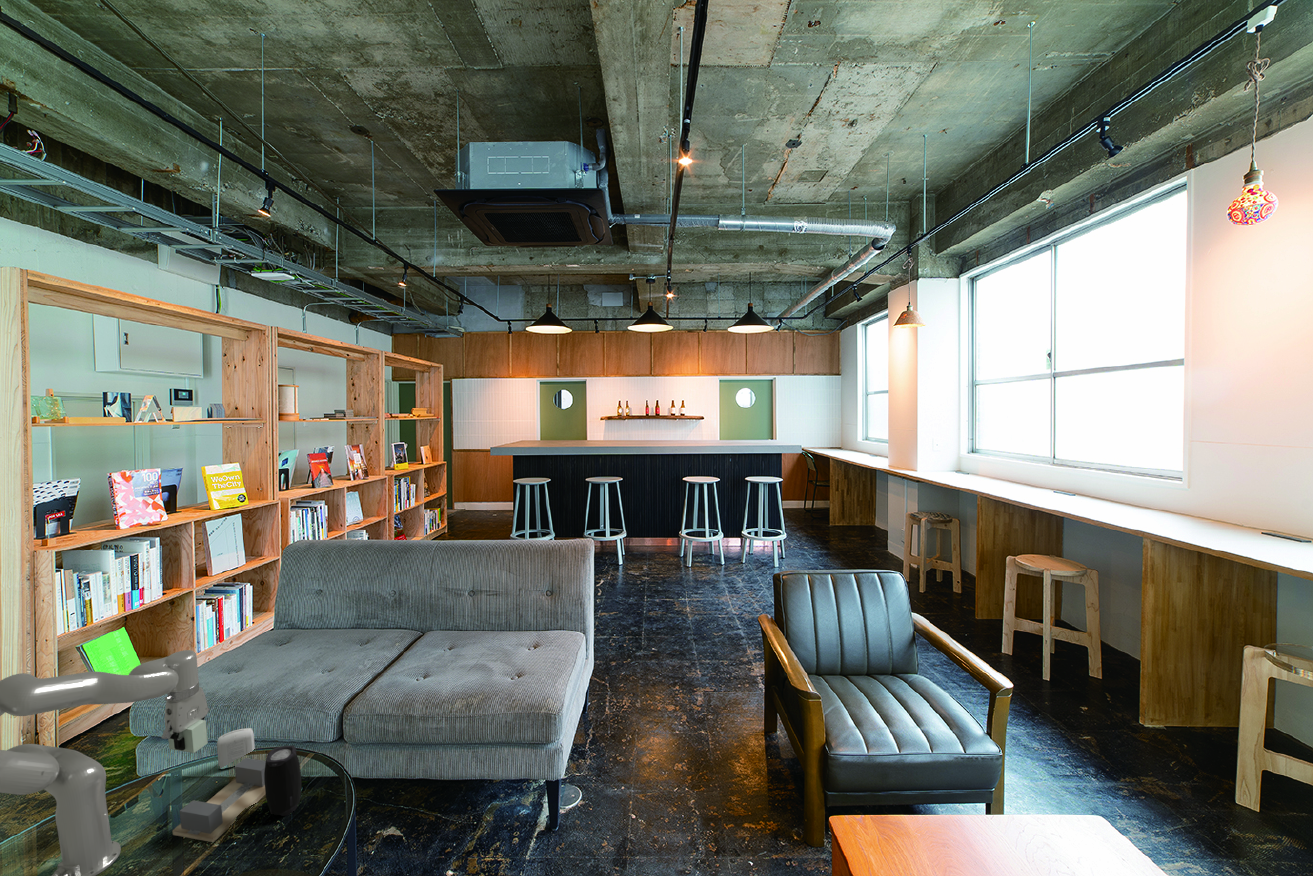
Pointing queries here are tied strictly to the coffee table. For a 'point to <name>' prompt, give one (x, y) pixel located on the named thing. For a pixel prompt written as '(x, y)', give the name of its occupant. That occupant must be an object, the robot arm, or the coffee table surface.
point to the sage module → (193, 737)
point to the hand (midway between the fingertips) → (188, 743)
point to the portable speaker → (282, 780)
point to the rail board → (223, 803)
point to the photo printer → (234, 745)
